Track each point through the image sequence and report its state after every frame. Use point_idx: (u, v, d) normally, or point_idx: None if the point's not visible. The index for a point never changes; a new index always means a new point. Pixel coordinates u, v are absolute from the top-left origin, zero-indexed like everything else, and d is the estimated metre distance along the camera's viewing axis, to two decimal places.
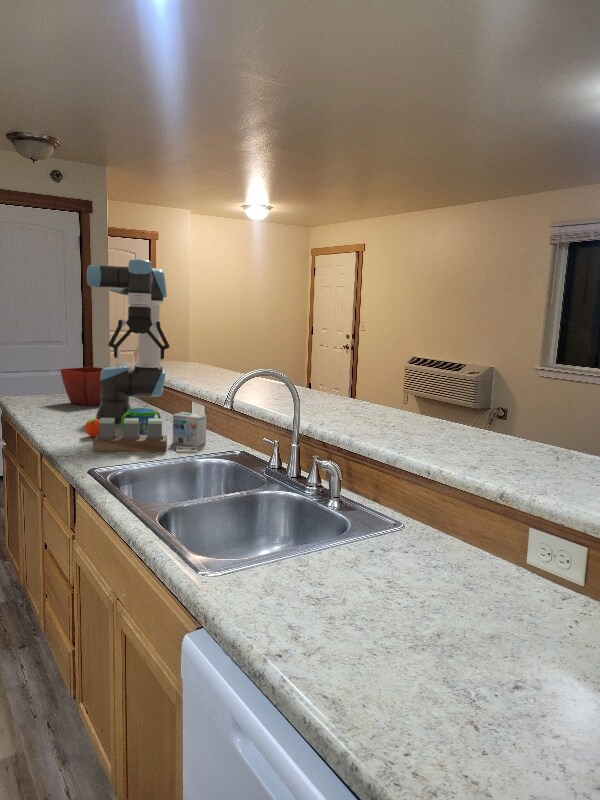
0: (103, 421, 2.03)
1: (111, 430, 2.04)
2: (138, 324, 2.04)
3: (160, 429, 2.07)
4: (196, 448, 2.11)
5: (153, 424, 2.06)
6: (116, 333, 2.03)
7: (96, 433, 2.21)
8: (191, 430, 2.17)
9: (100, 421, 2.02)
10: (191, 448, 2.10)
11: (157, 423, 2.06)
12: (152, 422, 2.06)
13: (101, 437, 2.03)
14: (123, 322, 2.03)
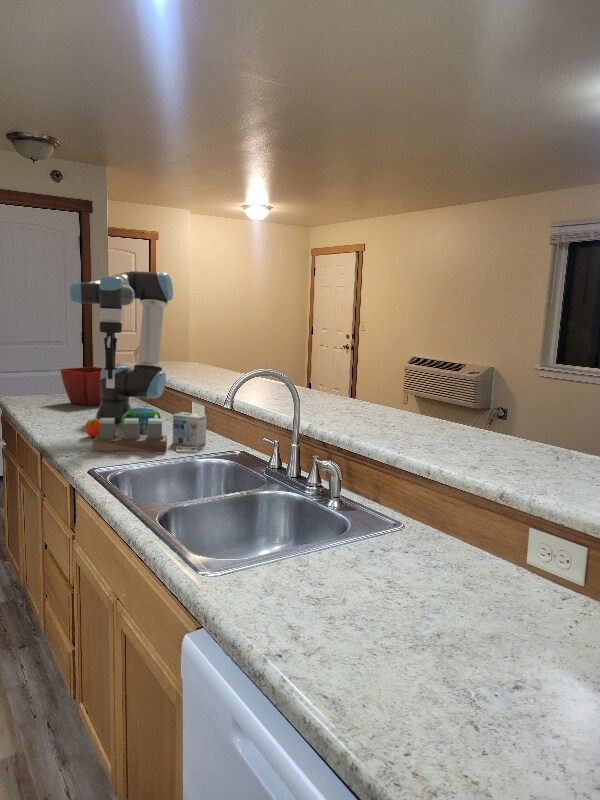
0: (103, 421, 2.03)
1: (111, 430, 2.04)
2: None
3: (160, 429, 2.07)
4: (196, 448, 2.11)
5: (153, 424, 2.06)
6: None
7: (96, 433, 2.21)
8: (191, 430, 2.17)
9: (100, 421, 2.02)
10: (191, 448, 2.10)
11: (157, 423, 2.06)
12: (152, 422, 2.06)
13: (101, 437, 2.03)
14: None
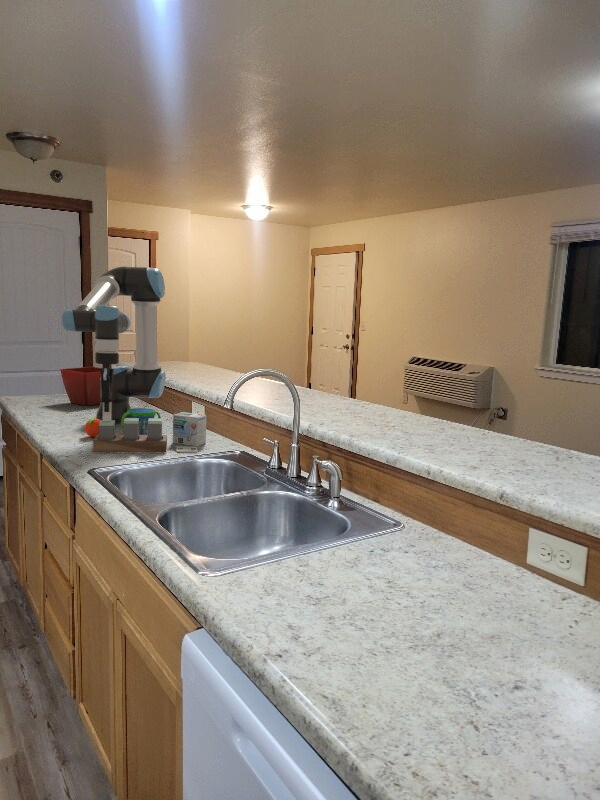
0: (103, 423, 2.03)
1: (111, 432, 2.04)
2: None
3: (160, 429, 2.07)
4: (196, 448, 2.11)
5: (153, 424, 2.06)
6: None
7: (96, 433, 2.21)
8: (191, 430, 2.17)
9: (100, 423, 2.03)
10: (191, 448, 2.10)
11: (157, 423, 2.06)
12: (152, 422, 2.06)
13: None
14: None
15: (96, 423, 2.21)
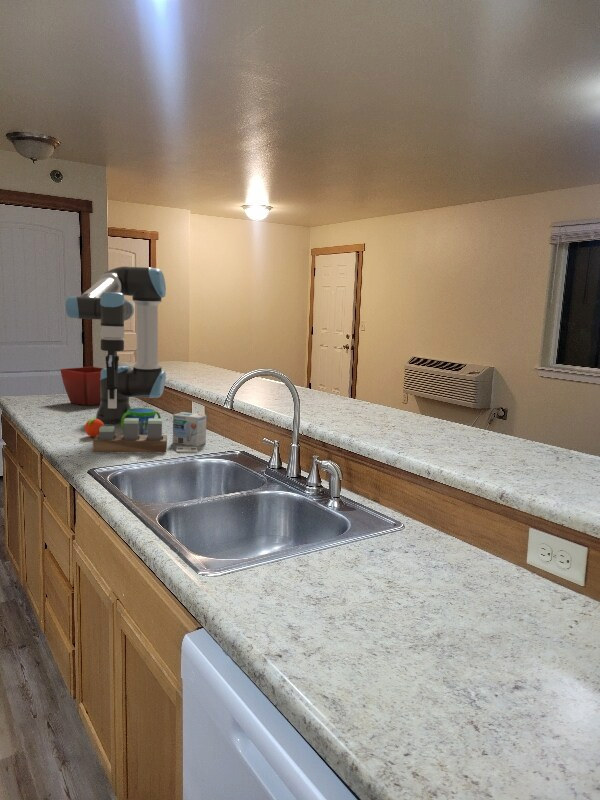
0: (103, 430, 2.03)
1: (111, 438, 2.04)
2: None
3: (160, 429, 2.07)
4: (196, 448, 2.11)
5: (153, 424, 2.06)
6: None
7: (96, 433, 2.21)
8: (191, 430, 2.17)
9: (100, 430, 2.03)
10: (191, 448, 2.10)
11: (157, 423, 2.06)
12: (152, 422, 2.06)
13: None
14: None
15: (96, 423, 2.21)
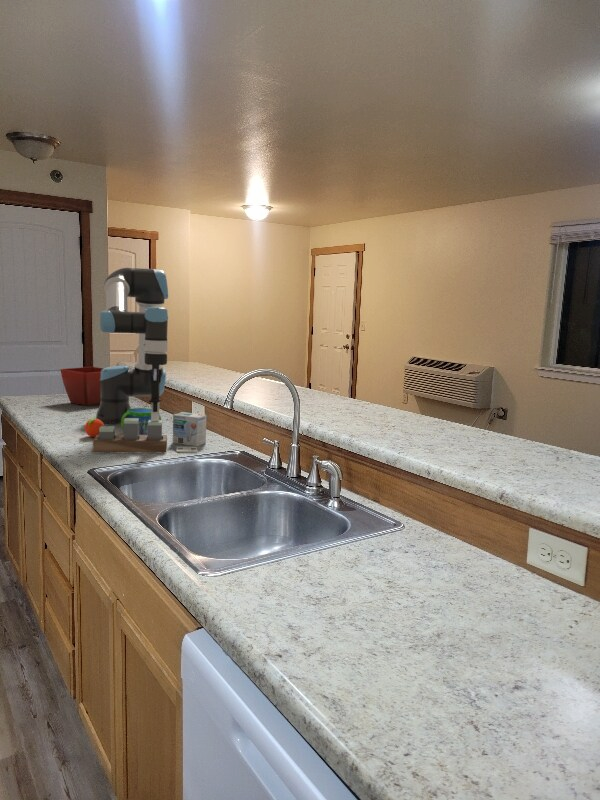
0: (103, 430, 2.03)
1: (111, 438, 2.04)
2: (152, 370, 2.06)
3: (160, 431, 2.07)
4: (196, 448, 2.11)
5: (153, 426, 2.06)
6: None
7: (96, 433, 2.21)
8: (191, 430, 2.17)
9: (100, 430, 2.03)
10: (191, 448, 2.10)
11: (157, 425, 2.06)
12: (152, 424, 2.06)
13: None
14: None
15: (96, 423, 2.21)
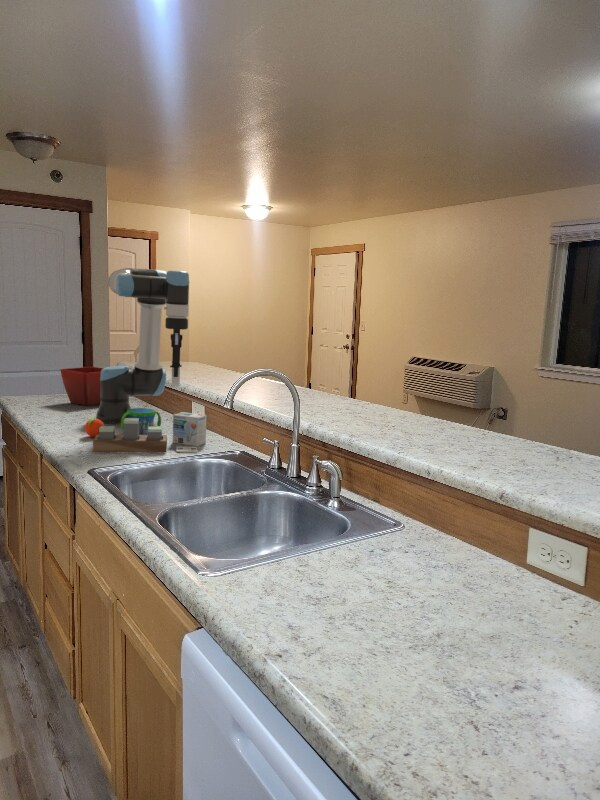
0: (103, 430, 2.03)
1: (111, 438, 2.04)
2: (173, 335, 2.05)
3: (160, 437, 2.07)
4: (196, 448, 2.11)
5: (153, 432, 2.06)
6: None
7: (96, 433, 2.21)
8: (191, 430, 2.17)
9: (100, 430, 2.03)
10: (191, 448, 2.10)
11: (157, 431, 2.07)
12: (152, 430, 2.06)
13: None
14: None
15: (96, 423, 2.21)
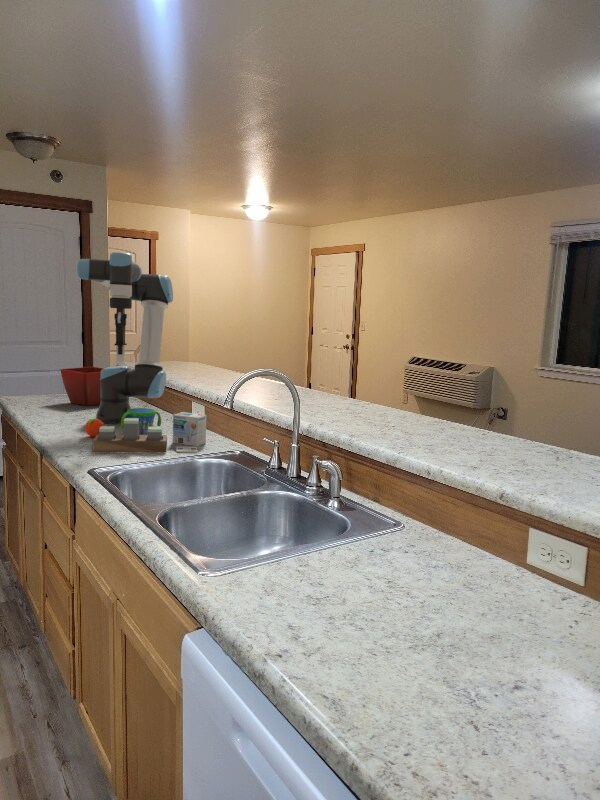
0: (103, 430, 2.03)
1: (111, 438, 2.04)
2: None
3: (160, 437, 2.07)
4: (196, 448, 2.11)
5: (153, 432, 2.06)
6: None
7: (96, 433, 2.21)
8: (191, 430, 2.17)
9: (100, 430, 2.03)
10: (191, 448, 2.10)
11: (157, 431, 2.07)
12: (152, 430, 2.06)
13: None
14: None
15: (96, 423, 2.21)
